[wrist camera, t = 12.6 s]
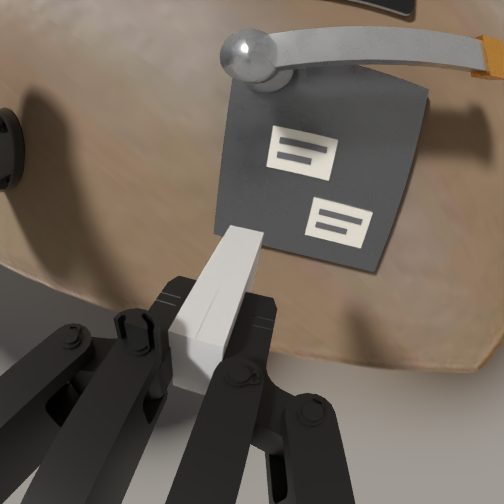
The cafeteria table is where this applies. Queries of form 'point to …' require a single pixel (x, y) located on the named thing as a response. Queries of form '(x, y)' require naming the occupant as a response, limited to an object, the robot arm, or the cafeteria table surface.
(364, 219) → the label
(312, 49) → the swing arm
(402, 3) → the smartphone
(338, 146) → the board
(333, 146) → the label
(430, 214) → the cafeteria table surface
